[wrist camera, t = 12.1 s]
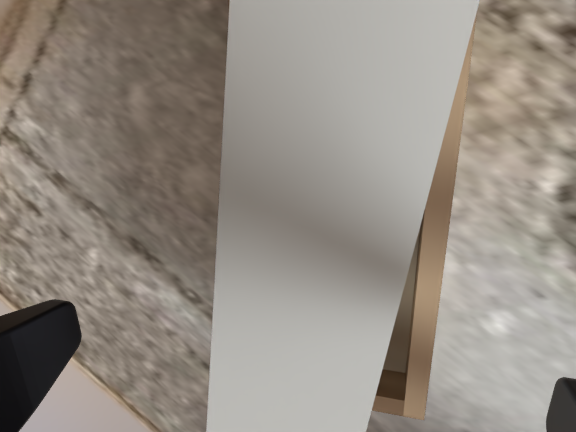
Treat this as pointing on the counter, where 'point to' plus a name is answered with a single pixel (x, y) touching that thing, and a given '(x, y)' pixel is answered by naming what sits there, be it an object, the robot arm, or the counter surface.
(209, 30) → the counter surface
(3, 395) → the robot arm
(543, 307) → the counter surface
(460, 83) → the brown rectangular tray
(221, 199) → the white rectangular block
